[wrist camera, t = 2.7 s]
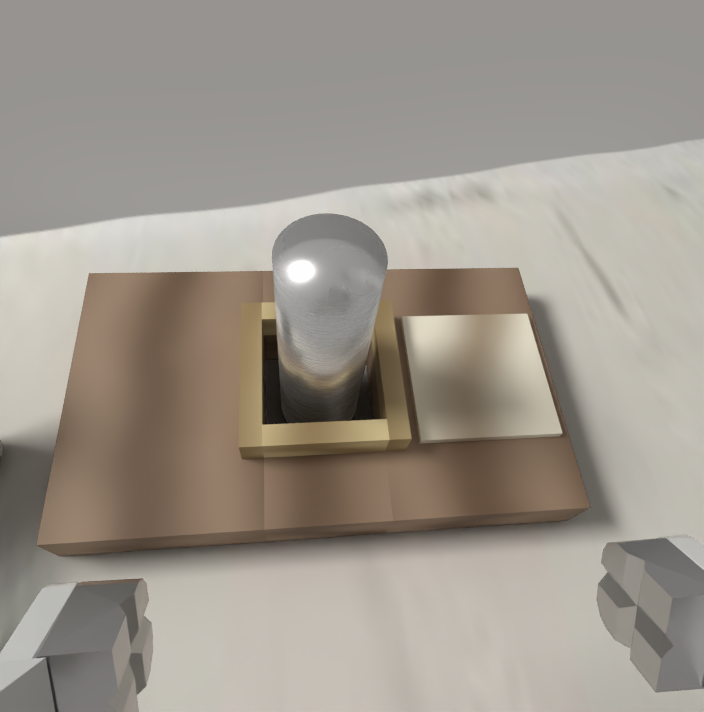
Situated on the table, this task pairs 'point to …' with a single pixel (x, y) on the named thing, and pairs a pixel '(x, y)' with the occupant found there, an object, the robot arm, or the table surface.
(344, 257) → the steel pin
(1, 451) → the digital clock
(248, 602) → the table surface
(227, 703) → the table surface
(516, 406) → the wooden peg board
